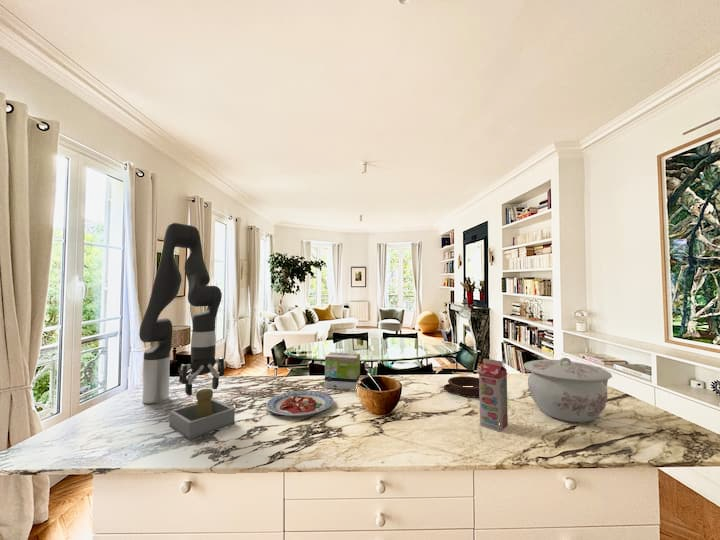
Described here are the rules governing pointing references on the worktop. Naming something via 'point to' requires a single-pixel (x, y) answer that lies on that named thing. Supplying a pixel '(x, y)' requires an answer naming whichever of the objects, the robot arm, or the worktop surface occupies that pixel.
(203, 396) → the cork
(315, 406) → the ceramic plate
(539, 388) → the chamber pot
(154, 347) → the robot arm
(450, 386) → the dish
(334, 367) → the tea box
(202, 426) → the bin
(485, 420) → the juice carton
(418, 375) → the worktop surface
